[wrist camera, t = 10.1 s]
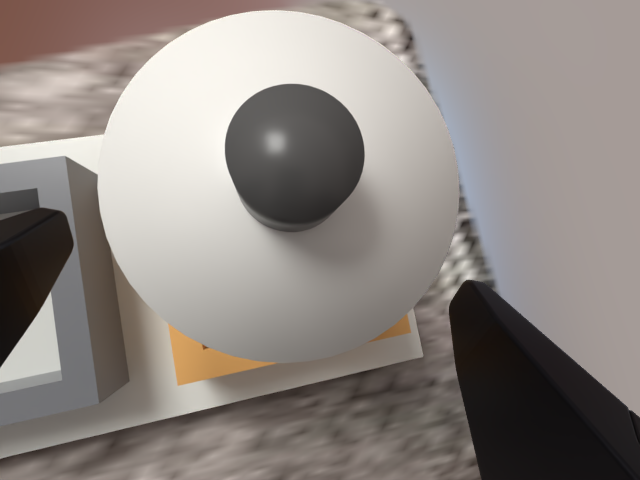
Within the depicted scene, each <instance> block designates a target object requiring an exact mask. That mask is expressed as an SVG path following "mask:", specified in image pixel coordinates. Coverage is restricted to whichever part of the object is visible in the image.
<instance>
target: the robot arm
mask: <svg viewBox="0 0 640 480" xmlns="http://www.w3.org/2000/svg"><path fill="white" fill-rule="evenodd" d="M73 247H74V240H73V236H72V233H71V229H70V226H69V222H68V219H67V216H66V214H65V213H64V212H63V211H61V210H57V209H51V208H44V207H40V208H36V209H33V210H30V211H27V212H24V213H21V214H18V215H15V216H12V217H9V218H5V219H2V220H0V368H1V366H2V365H3V363H4V362H5V360H6V359H7V358H8V356H9V355H10V353H11V352H12V350H13V349H14V348H15V346H16V345H17V343H18V342H19V340H20V339H21V338H22V336H23V335H24V333H25V332H26V330H27V329H28V328H29V326H30V325H31V323H32V322H33V320H34V319H35V317H36V316H37V314H38V313H39V311H40V310H41V308H42V306H43V304H44V303H45V301H46V299H47V297H48V295H49V294H50V292H51V290H52V288H53V286H54V284H55V283H56V281H57V279H58V277H59V275H60V273H61V271H62V270H63V268H64V266H65V264H66V262H67V260H68V259H69V257H70V255H71V253H72V251H73ZM449 316H450V325H451V333H452V341H453V350H454V358H455V365H456V371H457V376H458V380H459V385H460V389H461V393H462V398H463V402H464V406H465V411H466V415H467V419H468V424H469V428H470V432H471V436H472V441H473V445H474V449H475V454H476V458H477V462H478V467H479V471H480V475H481V480H640V417H639V416H637V415H636V414H635V413H634V412H633V411H630V410H629V409H628V407H627V406H626V405H625V404H623V403H622V402H621V401H620V400H619V399H618V398H616V397H615V396H614V395H613V394H612V393H611V392H610V391H609V390H607V389H606V388H605V387H604V386H603V385H602V384H600V383H599V382H598V381H597V380H596V379H595V378H593V377H592V376H591V375H590V374H589V373H588V372H587V371H586V370H584V369H583V368H582V367H581V366H580V365H578V364H577V363H576V362H575V361H574V360H573V359H572V358H571V357H569V356H568V355H567V354H566V353H565V352H564V351H562V350H561V349H560V348H559V347H558V346H557V345H555V344H554V343H553V342H552V341H551V340H550V339H549V338H547V337H546V336H545V335H544V334H543V333H542V332H541V331H539V330H538V329H537V328H536V327H535V326H534V325H532V324H531V323H530V322H529V321H528V320H527V319H526V318H524V317H523V316H522V315H521V314H520V313H519V312H517V311H516V310H515V309H514V308H513V307H512V306H511V305H510V304H508V303H507V302H506V301H505V300H504V299H503V298H501V297H500V296H499V295H498V294H497V293H496V292H495V291H493V290H492V289H491V288H490V287H489V286H488V285H486V284H485V283H483V282H480V281H474V280H466V281H465V282H463V284H462V285H461V287H460V288H459V290H458V291H457V293H456V294H455V296H454V297H453V299H452V301H451V303H450V306H449Z"/></svg>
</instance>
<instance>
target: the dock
mask: <svg viewBox="0 0 640 480" xmlns="http://www.w3.org/2000/svg"><path fill="white" fill-rule="evenodd" d="M103 137H104V135H97V136H88V137H80V138H72V139H64V140H55V141H47V142H39V143H30V144H22V145H14V146H6V147H0V220H2V219H5V218H9V217H12V216H15V215H18V214H21V213H24V212H27V211H30V210H33V209H36V208H40V207H44V208H51V209H57V210H61V211H63V212H64V213H65V214H66V216H67V219H68V222H69V226H70V229H71V233H72V236H73V240H74V247H73V251H72V253H71V255H70V257H69V259H68V260H67V262H66V264H65V266H64V268H63V270H62V271H61V273H60V275H59V277H58V279H57V281H56V283H55V284H54V286H53V288H52V290H51V292H50V294H49V295H48V297H47V299H46V301H45V303H44V304H43V306H42V308H41V310H40V311H39V313H38V314H37V316H36V317H35V319H34V320H33V322H32V323H31V325H30V326H29V328H28V329H27V330H26V332H25V333H24V335H23V336H22V338H21V339H20V340H19V342H18V343H17V345H16V346H15V348H14V349H13V350H12V352H11V353H10V355H9V356H8V358H7V359H6V360H5V362H4V363H3V365H2V366H1V368H0V459H1V458H5V457H9V456H13V455H17V454H21V453H25V452H30V451H34V450H38V449H42V448H46V447H50V446H55V445H59V444H63V443H67V442H71V441H75V440H80V439H84V438H88V437H92V436H96V435H100V434H104V433H109V432H113V431H117V430H121V429H125V428H129V427H134V426H138V425H142V424H146V423H150V422H154V421H159V420H163V419H167V418H171V417H175V416H179V415H183V414H188V413H192V412H196V411H200V410H204V409H208V408H213V407H217V406H221V405H225V404H229V403H233V402H238V401H242V400H246V399H250V398H254V397H258V396H263V395H267V394H271V393H275V392H279V391H283V390H287V389H292V388H296V387H300V386H304V385H308V384H312V383H317V382H321V381H325V380H329V379H333V378H337V377H342V376H346V375H350V374H354V373H358V372H362V371H366V370H371V369H375V368H379V367H383V366H387V365H391V364H396V363H400V362H404V361H408V360H412V359H416V358H421V357H423V352H422V347H421V342H420V337H419V333H418V328H417V323H416V318H415V313H414V308H412V310H411V311H410V312H408V313H407V314H406V315H405V316H404V317H403V318H402V319H401V320H399V321H398V322H397V323H396V324H395V325H394V326H392V327H391V328H389V329H388V330H386V331H385V332H384V333H382V334H381V335H379V336H378V337H376V338H375V339H373V340H371V341H369V342H367V343H365V344H363V345H361V346H359V347H357V348H355V349H352V350H349V351H346V352H343V353H341V354H338V355H335V356H332V357H327V358H322V359H317V360H312V361H307V362H292V363H274V362H261V361H254V360H249V359H244V358H239V357H235V356H231V355H228V354H225V353H222V352H220V351H217V350H214V349H211V348H208V347H206V346H205V345H203V344H201V343H199V342H197V341H195V340H193V339H191V338H189V337H187V336H185V335H184V334H182V333H181V332H180V331H178V330H177V329H175V328H174V327H173V326H171V325H170V324H168V323H167V322H166V321H164V320H163V319H162V318H161V317H160V316H159V315H158V314H157V313H156V312H155V311H154V310H152V309H151V308H150V307H149V306H148V305H147V304H146V303H145V302H144V301H143V299H142V298H141V297H140V296H139V294H138V293H137V292H136V291H135V289H134V288H133V287H132V286H131V284H130V283H129V282H128V280H127V278H126V276H125V275H124V273H123V271H122V270H121V268H120V266H119V265H118V263H117V261H116V259H115V257H114V254H113V252H112V250H111V247H110V245H109V242H108V240H107V238H106V234H105V230H104V226H103V222H102V218H101V214H100V207H99V198H98V189H97V186H98V162H99V157H100V151H101V146H102V140H103Z"/></svg>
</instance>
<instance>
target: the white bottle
mask: <svg viewBox="0 0 640 480" xmlns="http://www.w3.org/2000/svg"><path fill="white" fill-rule="evenodd" d="M97 189H98V198H99V207H100V214H101V218H102V222H103V226H104V230H105V234H106V238H107V240H108V242H109V245H110V247H111V250H112V252H113V254H114V257H115V259H116V261H117V263H118V265H119V266H120V268H121V270H122V271H123V273H124V275H125V276H126V278H127V280H128V282H129V283H130V284H131V286H132V287H133V288H134V289H135V291H136V292H137V293H138V294H139V296H140V297H141V298H142V299H143V301H144V302H145V303H146V304H147V305H148V306H149V307H150V308H151V309H152V310H154V311H155V312H156V313H157V314H158V315H159V316H160V317H161V318H162V319H163V320H164V321H166V322H167V323H168V324H170V325H171V326H173V327H174V328H175V329H177V330H178V331H180V332H181V333H182V334H184V335H185V336H187V337H189V338H191V339H193V340H195V341H197V342H199V343H201V344H203V345H205V346H206V347H208V348H211V349H214V350H217V351H220V352H222V353H225V354H228V355H231V356H235V357H239V358H244V359H249V360H254V361H261V362H274V363H292V362H307V361H312V360H317V359H322V358H327V357H332V356H335V355H338V354H341V353H343V352H346V351H349V350H352V349H355V348H357V347H359V346H361V345H363V344H365V343H367V342H369V341H371V340H373V339H375V338H376V337H378V336H379V335H381V334H382V333H384V332H385V331H386V330H388V329H389V328H391V327H392V326H394V325H395V324H396V323H397V322H398V321H399V320H401V319H402V318H403V317H404V316H405V315H406V314H407V313H408V312H410V311H411V310H412V308H413V307H414V306H415V305H416V304H417V303H418V301H419V300H420V299H421V298H422V297H423V296H424V294H425V293H426V292H427V290H428V289H429V287H430V286H431V284H432V283H433V281H434V279H435V278H436V276H437V275H438V273H439V271H440V269H441V267H442V265H443V263H444V260H445V258H446V256H447V254H448V251H449V248H450V245H451V242H452V239H453V236H454V232H455V227H456V221H457V216H458V207H459V177H458V166H457V161H456V156H455V151H454V147H453V144H452V141H451V137H450V134H449V131H448V128H447V126H446V124H445V122H444V119H443V117H442V115H441V113H440V111H439V109H438V107H437V105H436V104H435V102H434V100H433V99H432V97H431V95H430V94H429V92H428V91H427V89H426V88H425V87H424V85H423V84H422V83H421V82H420V80H419V79H418V78H417V77H416V75H415V74H414V73H413V72H412V71H411V70H410V69H409V68H408V67H407V66H406V65H405V64H404V63H403V62H402V61H401V60H400V59H399V58H398V57H397V56H396V55H394V54H393V53H392V52H390V51H389V50H388V49H387V48H385V47H384V46H383V45H382V44H380V43H379V42H377V41H375V40H374V39H372V38H370V37H369V36H367V35H365V34H364V33H362V32H360V31H358V30H356V29H353V28H351V27H349V26H347V25H345V24H343V23H340V22H337V21H334V20H331V19H328V18H324V17H321V16H317V15H312V14H307V13H302V12H293V11H280V10H271V11H253V12H247V13H241V14H235V15H230V16H227V17H224V18H220V19H217V20H214V21H210V22H208V23H206V24H203V25H201V26H199V27H197V28H195V29H192V30H190V31H188V32H186V33H185V34H183V35H182V36H180V37H178V38H177V39H175V40H173V41H172V42H170V43H169V44H167V45H166V46H165V47H164V48H163V49H161V50H160V51H159V52H158V53H156V54H155V55H154V56H153V57H152V58H150V60H149V61H148V62H147V63H146V64H145V65H144V66H143V67H142V68H141V69H140V70H139V71H138V73H137V74H136V75H135V76H134V77H133V79H132V80H131V82H130V83H129V84H128V86H127V87H126V89H125V90H124V92H123V93H122V95H121V96H120V98H119V100H118V102H117V104H116V106H115V108H114V110H113V112H112V114H111V116H110V119H109V122H108V125H107V128H106V131H105V134H104V137H103V140H102V146H101V151H100V157H99V162H98V186H97Z"/></svg>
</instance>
